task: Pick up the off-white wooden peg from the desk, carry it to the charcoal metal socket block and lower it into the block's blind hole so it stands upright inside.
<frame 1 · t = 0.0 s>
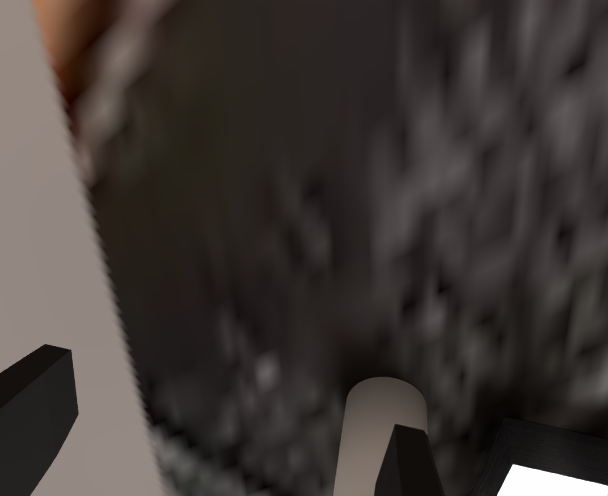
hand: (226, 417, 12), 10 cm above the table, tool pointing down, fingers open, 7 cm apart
peg: (386, 406, 25), on the table
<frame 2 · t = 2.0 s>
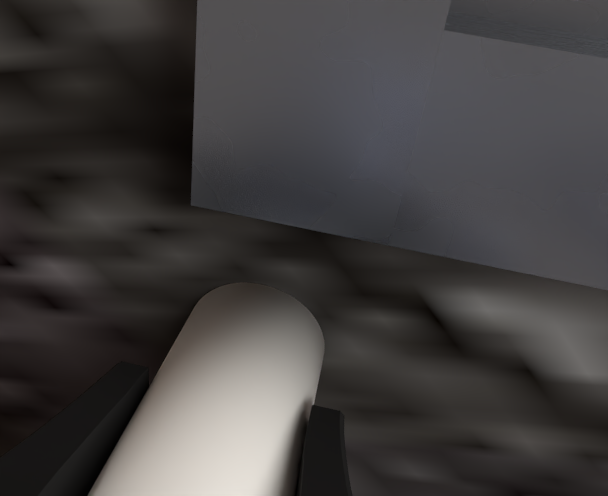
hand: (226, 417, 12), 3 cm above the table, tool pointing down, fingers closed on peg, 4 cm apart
peg: (255, 340, 14), on the table, touching gripper
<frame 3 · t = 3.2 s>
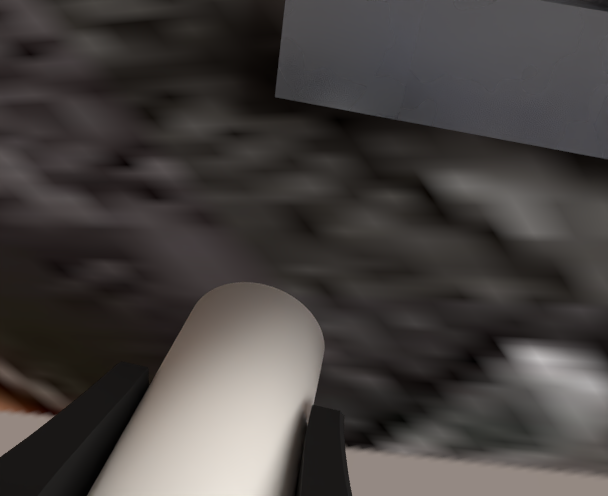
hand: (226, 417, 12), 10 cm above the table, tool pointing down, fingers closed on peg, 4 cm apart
peg: (255, 340, 14), point 7 cm above the table, touching gripper
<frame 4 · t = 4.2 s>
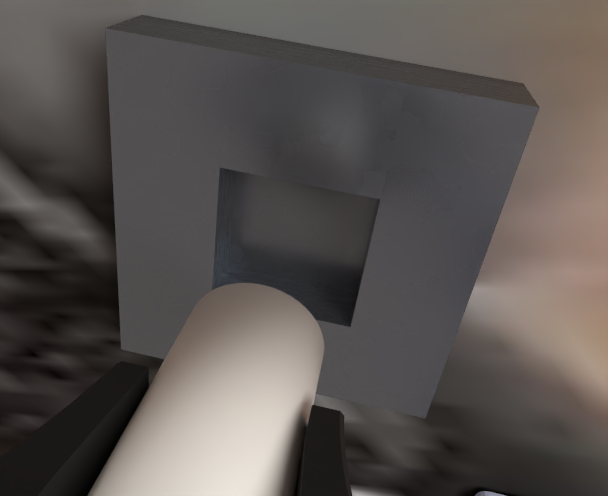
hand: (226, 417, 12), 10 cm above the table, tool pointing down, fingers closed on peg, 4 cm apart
socket block: (302, 217, 20), on the table
peg: (255, 340, 14), point 7 cm above the table, touching gripper
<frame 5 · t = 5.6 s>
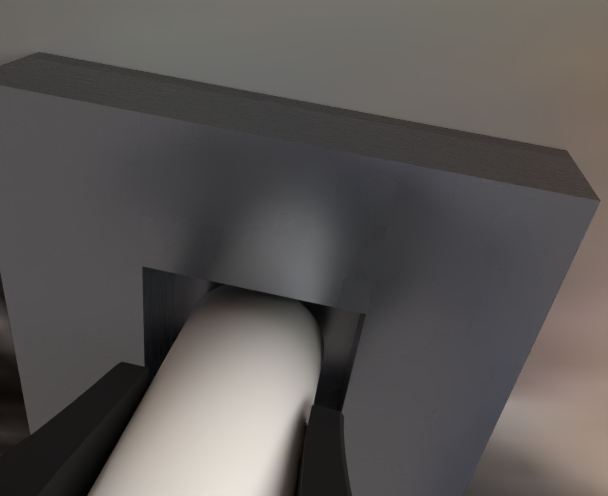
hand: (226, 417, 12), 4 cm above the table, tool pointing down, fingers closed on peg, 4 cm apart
socket block: (266, 311, 15), on the table
peg: (255, 340, 14), point 1 cm above the table, touching gripper
when the fingers open (4 cm above the table, at t = 6.6 s): peg stays where it is, resting on socket block.
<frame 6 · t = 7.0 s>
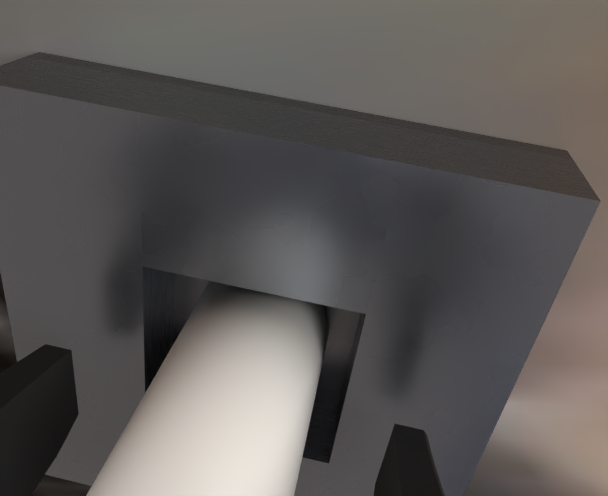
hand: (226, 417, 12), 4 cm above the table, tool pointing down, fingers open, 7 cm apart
socket block: (266, 311, 15), on the table
peg: (262, 322, 15), point 1 cm above the table, touching socket block
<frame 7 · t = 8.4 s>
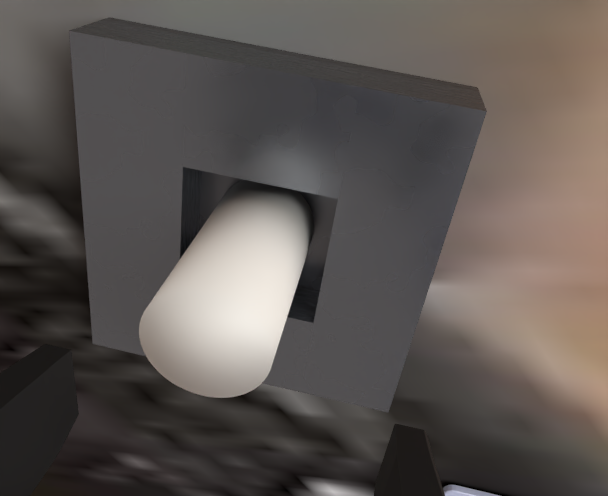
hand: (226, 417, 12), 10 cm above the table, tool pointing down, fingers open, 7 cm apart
socket block: (268, 215, 21), on the table
peg: (265, 222, 20), point 1 cm above the table, touching socket block
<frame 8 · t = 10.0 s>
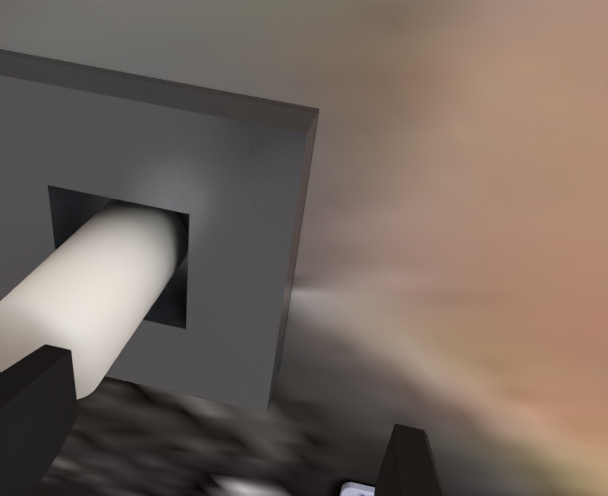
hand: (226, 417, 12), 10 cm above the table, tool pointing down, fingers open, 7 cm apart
socket block: (148, 228, 22), on the table
peg: (143, 234, 22), point 1 cm above the table, touching socket block
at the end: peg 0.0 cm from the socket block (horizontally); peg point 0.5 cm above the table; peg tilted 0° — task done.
